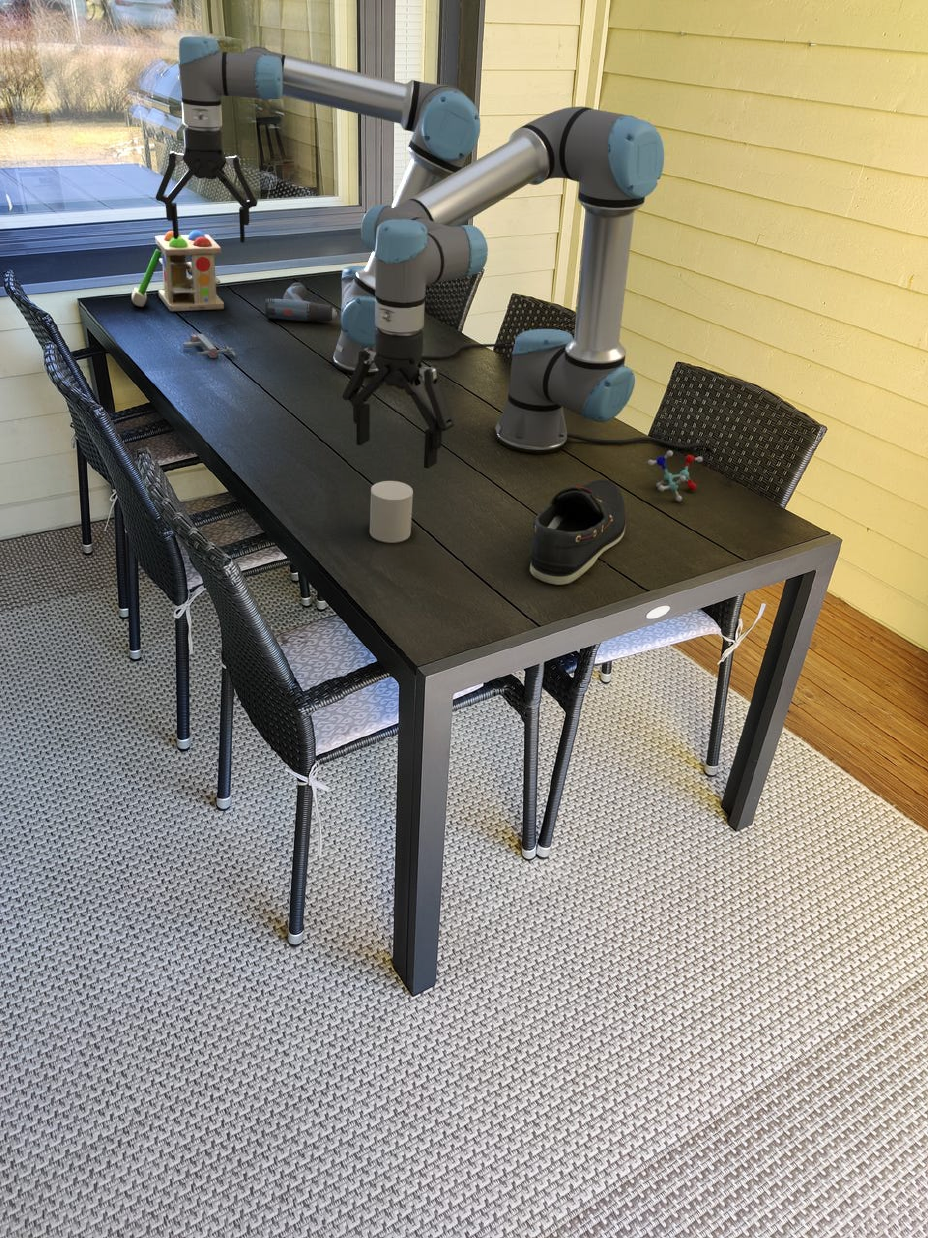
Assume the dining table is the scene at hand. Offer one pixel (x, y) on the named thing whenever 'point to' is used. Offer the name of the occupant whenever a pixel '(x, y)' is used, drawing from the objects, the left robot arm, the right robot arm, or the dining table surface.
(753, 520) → the dining table surface
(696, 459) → the molecular model
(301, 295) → the power drill
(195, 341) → the clamp
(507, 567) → the dining table surface
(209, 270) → the pounding bench toy
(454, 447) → the dining table surface
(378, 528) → the can
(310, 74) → the left robot arm
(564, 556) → the boat shoe
